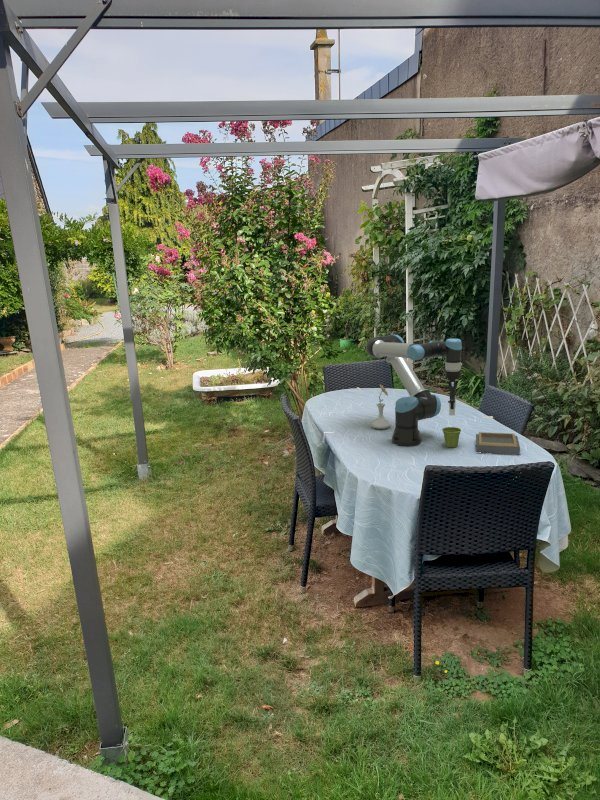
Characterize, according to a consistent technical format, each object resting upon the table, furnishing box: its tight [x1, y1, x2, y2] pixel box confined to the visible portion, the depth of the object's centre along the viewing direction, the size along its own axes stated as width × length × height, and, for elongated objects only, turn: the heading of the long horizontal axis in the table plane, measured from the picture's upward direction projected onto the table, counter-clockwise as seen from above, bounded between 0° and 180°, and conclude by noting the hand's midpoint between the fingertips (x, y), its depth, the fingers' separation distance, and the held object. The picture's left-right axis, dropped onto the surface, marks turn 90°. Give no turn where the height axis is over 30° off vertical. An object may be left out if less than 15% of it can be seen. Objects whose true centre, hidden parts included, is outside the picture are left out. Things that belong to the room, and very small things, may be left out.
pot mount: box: [475, 431, 521, 456], centre depth 284 cm, size 20×18×5 cm
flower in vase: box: [370, 384, 392, 430], centre depth 324 cm, size 13×11×25 cm
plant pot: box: [441, 426, 462, 448], centre depth 290 cm, size 9×9×9 cm
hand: (452, 411), depth 286 cm, fingers open, 13 cm apart
